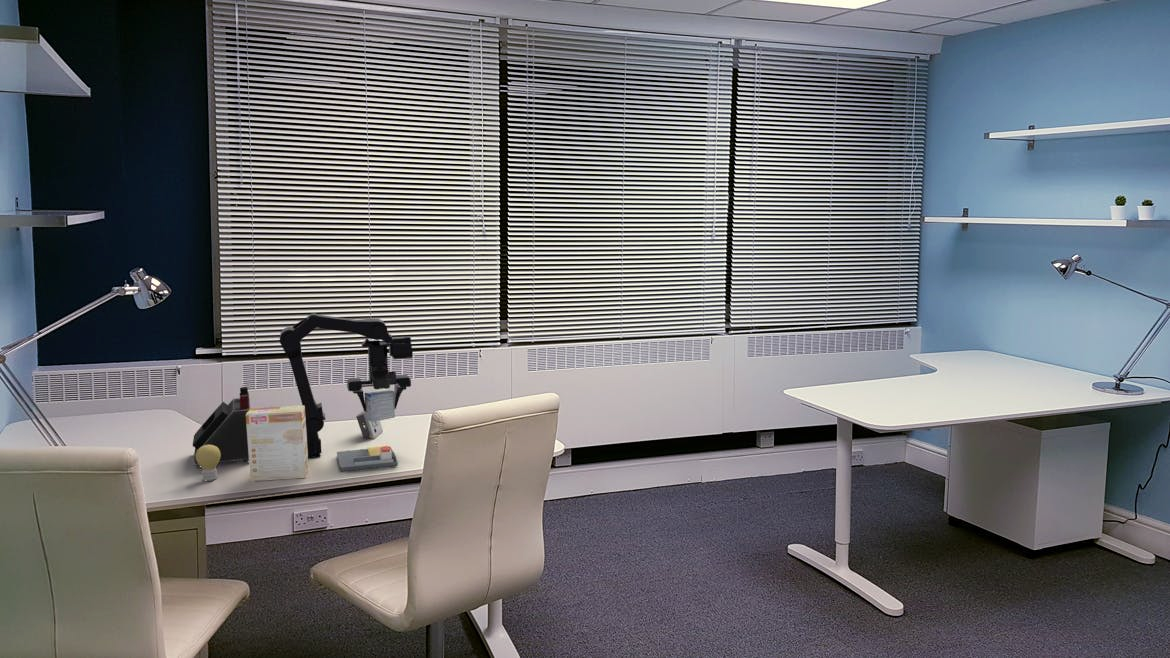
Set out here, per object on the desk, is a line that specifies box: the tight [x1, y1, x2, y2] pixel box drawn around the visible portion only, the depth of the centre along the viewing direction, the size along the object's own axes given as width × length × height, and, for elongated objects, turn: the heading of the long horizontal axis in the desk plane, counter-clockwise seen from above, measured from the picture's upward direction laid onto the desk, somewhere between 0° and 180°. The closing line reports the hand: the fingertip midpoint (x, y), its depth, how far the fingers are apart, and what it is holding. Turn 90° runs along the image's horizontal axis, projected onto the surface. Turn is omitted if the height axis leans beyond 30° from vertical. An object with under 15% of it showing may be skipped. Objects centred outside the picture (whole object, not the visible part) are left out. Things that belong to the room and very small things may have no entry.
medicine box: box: [364, 388, 396, 422], centre depth 279 cm, size 8×4×9 cm, turn 132°
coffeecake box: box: [246, 405, 310, 482], centre depth 255 cm, size 15×7×20 cm, turn 99°
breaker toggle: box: [380, 445, 392, 460], centre depth 266 cm, size 3×4×4 cm
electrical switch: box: [355, 410, 384, 440], centre depth 296 cm, size 9×5×9 cm, turn 174°
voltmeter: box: [192, 386, 251, 467], centre depth 271 cm, size 16×16×20 cm
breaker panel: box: [336, 446, 399, 473], centre depth 269 cm, size 16×16×3 cm
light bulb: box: [196, 445, 221, 481], centre depth 253 cm, size 6×6×10 cm
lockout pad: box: [366, 445, 385, 456], centre depth 273 cm, size 6×10×1 cm, turn 19°
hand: (379, 410), depth 280 cm, fingers closed on medicine box, 9 cm apart
